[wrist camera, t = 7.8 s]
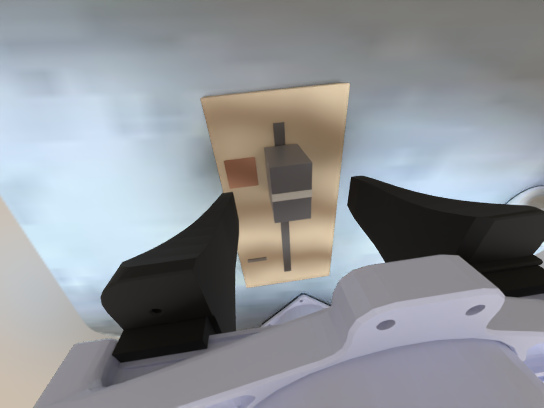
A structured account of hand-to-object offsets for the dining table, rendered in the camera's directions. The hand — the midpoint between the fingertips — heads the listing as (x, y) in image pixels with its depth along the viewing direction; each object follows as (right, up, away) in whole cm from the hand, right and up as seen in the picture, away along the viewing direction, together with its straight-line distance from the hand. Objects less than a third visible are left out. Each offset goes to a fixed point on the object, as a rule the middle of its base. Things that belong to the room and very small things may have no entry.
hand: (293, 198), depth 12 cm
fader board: (0, 0, +8) cm, 8 cm away
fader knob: (0, +2, +4) cm, 4 cm away
